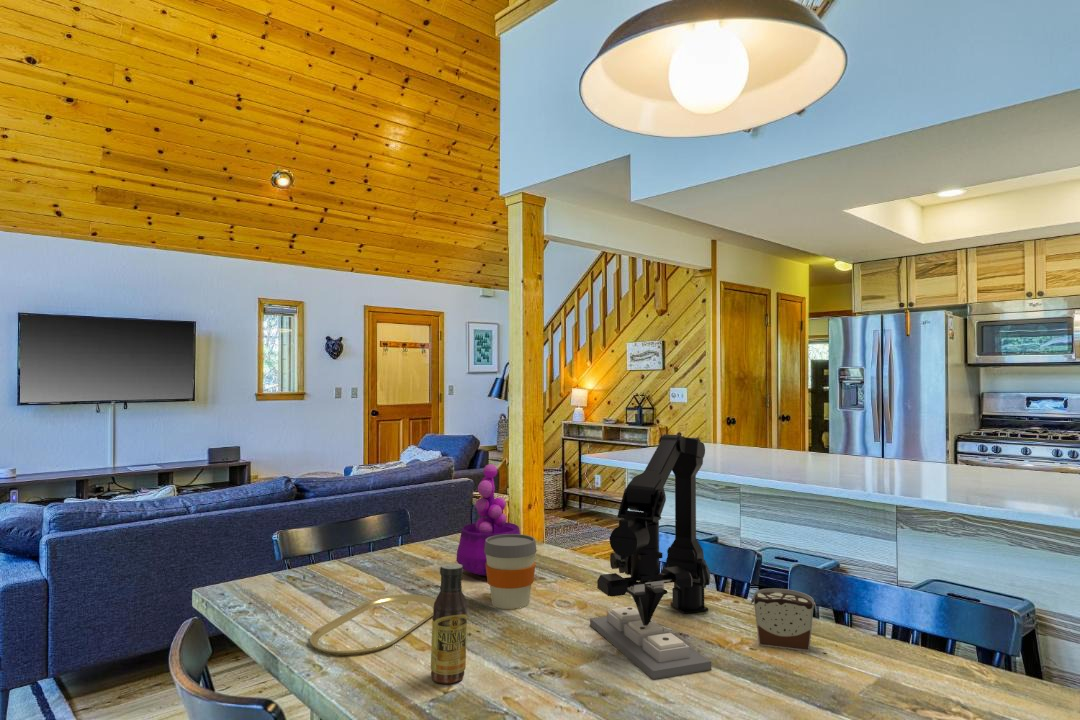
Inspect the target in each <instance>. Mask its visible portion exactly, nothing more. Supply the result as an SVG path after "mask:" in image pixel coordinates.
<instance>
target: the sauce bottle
mask: <svg viewBox="0 0 1080 720" xmlns="http://www.w3.org/2000/svg"><path fill="white" fill-rule="evenodd" d="M439 569H440V570H439V573H440V588H439V589H440V591H439V593H438V594H437V596H436V597H435V598H436V599H435V600H436V601H435V602H434V607H433V608H432V609H433V610H432V613H433V616H432V620H431V621H432V623H431V626H432V627H431V648H430V651H431V652H430V670H431V672H430V673H431V674H430V678H431V679H432V681H433V682H436V683H438V684H455V683H456V682H460V681H461V680H463V678H464V676H465V670H466V669H467V668H466V665H467V664H466V663H467V661H466V660H467V636H468V635H467V630H468V629H467V628H468V611H467V610H468V606H467V599H466V597H465V595H464V593H463V591H462V588H463V587H462V575H463V571H464V570H463V566H462V565H461V564H458V563H455V562H450V563H443V564H442V565H440V568H439ZM433 611H434V612H433Z"/></svg>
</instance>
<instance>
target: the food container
mask: <svg viewBox="0 0 1080 720" xmlns="http://www.w3.org/2000/svg"><path fill="white" fill-rule="evenodd" d="M752 604H753V606H754V607H753V608H754V612H755V613H754V614H755V615H754V616H755V622H756V630H757V639H758V640H757V641H758V646H762V647H763V646H764V647H770V648H777V647H780V649H786V648H788V649H787V650H794V649H795V651H796V650H797V651H802V650H803V651H804V652H810V649H811V637H812V629H813V628H812V627H813V618H814V617H813V615H814V610H815V611H816V612H817V611H818V609H817V606H816V602H815V599H814V598H813V597H812V596H810V595H809V594H806V593H804V592H801V591H798V590H792V589H786V588H773V587H772V588H762V589H758V590H756V591H755V592H754V593H753V595H752V596H751V601H750V605H752ZM781 647H782V648H781Z"/></svg>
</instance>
